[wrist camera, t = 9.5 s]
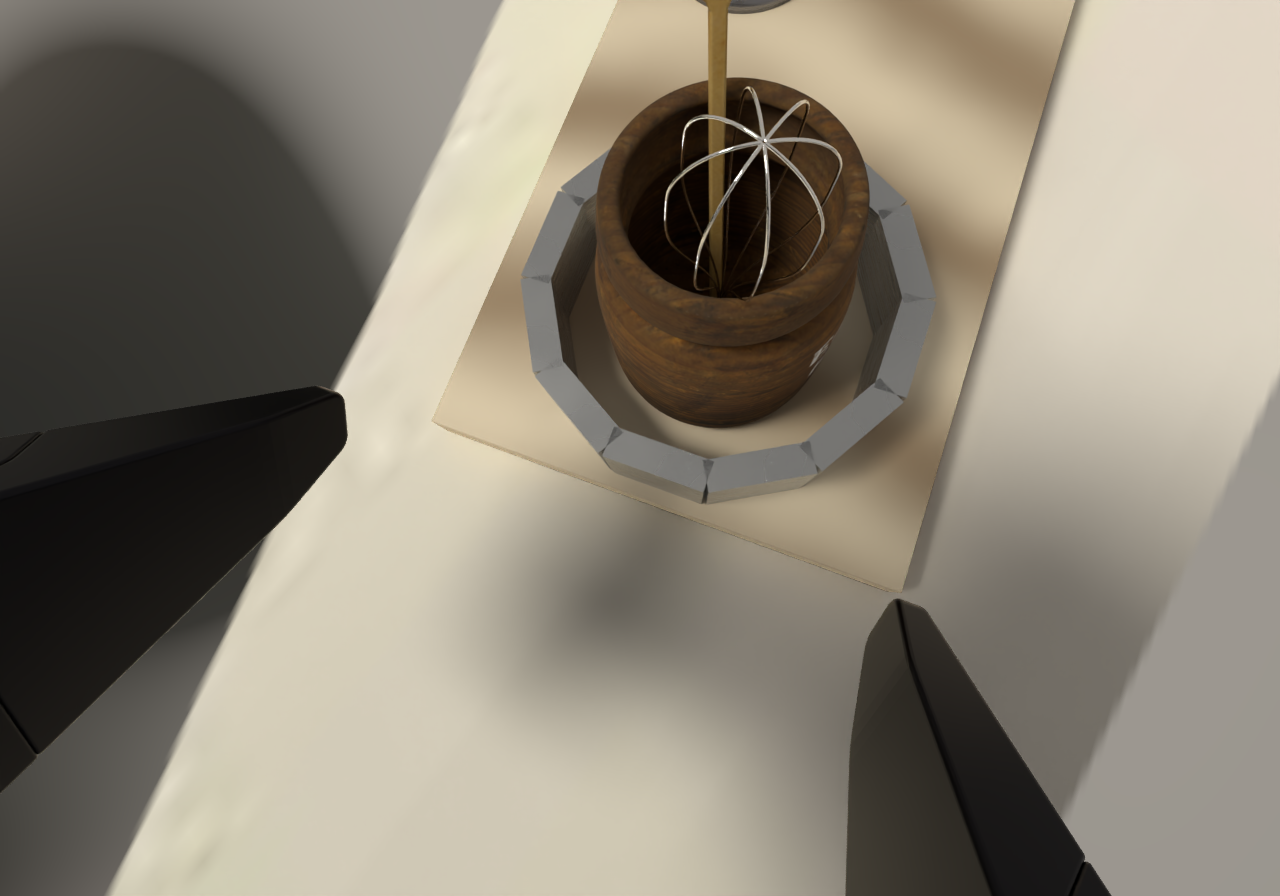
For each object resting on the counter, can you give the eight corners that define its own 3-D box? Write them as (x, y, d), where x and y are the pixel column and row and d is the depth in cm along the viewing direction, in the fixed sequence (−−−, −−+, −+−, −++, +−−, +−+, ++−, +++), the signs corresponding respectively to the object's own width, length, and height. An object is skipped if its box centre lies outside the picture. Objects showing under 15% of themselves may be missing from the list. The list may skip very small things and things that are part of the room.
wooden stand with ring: (887, 591, 17) (1070, 606, 9) (447, 430, 19) (262, 319, 11) (1068, -18, 21) (1321, -416, 13) (679, -100, 23) (672, -490, 15)
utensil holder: (626, 448, 18) (499, 193, 6) (605, 249, 19) (468, -281, 7) (834, 423, 17) (1138, 100, 6) (799, 222, 19) (983, -378, 7)
